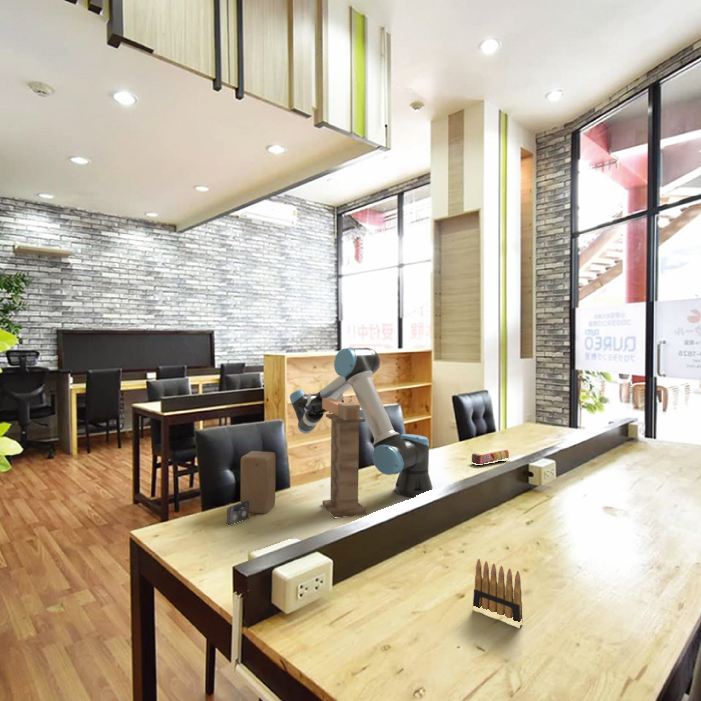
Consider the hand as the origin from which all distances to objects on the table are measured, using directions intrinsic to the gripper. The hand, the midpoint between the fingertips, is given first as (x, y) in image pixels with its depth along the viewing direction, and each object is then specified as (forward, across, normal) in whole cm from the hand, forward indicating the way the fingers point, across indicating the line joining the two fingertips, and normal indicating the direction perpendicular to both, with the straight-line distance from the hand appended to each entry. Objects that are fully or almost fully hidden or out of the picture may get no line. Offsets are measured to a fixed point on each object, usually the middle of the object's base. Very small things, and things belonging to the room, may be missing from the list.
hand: (326, 396), depth 185 cm
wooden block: (-11, +29, -39) cm, 50 cm away
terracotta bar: (+10, 0, -11) cm, 15 cm away
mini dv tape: (-3, +38, -44) cm, 58 cm away
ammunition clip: (+62, -10, -81) cm, 102 cm away
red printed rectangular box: (-32, -93, -27) cm, 102 cm away
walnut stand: (-1, 0, -44) cm, 44 cm away
